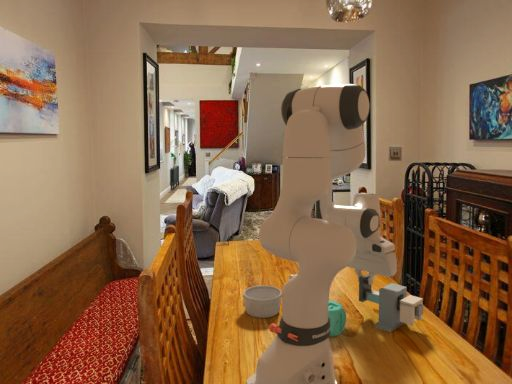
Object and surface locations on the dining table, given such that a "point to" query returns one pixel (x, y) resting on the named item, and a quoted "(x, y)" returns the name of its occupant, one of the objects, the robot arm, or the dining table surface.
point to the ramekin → (262, 301)
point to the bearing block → (390, 307)
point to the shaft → (373, 296)
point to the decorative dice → (336, 318)
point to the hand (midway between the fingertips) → (365, 283)
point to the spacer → (409, 309)
